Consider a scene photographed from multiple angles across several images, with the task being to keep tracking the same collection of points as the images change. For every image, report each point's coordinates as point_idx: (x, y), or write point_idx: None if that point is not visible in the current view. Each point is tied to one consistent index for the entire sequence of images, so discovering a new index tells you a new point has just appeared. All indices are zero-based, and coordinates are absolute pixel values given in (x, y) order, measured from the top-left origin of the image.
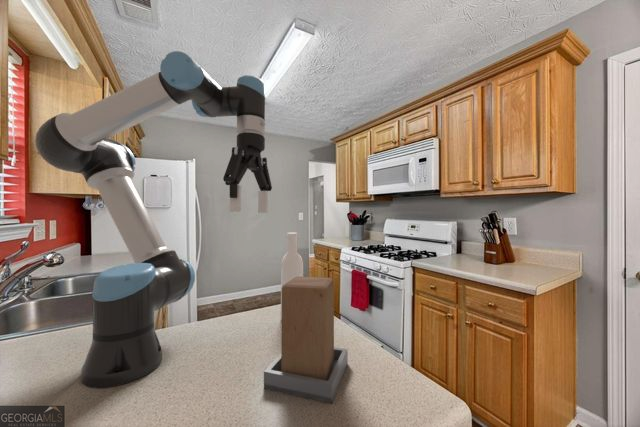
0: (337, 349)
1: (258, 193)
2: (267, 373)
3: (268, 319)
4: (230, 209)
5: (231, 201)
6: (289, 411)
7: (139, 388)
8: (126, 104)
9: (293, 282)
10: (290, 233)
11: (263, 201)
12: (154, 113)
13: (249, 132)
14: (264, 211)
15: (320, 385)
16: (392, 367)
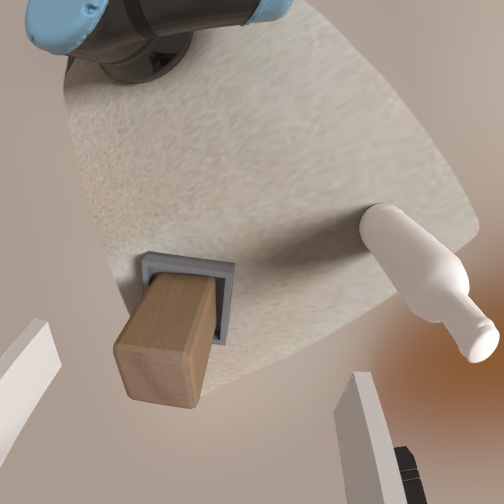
0: (221, 334)
1: (384, 502)
2: (142, 264)
3: (376, 176)
4: (30, 326)
5: (8, 359)
6: (128, 286)
7: (111, 100)
8: None
9: (132, 363)
10: (471, 348)
11: (351, 463)
12: None
13: None
14: (337, 410)
15: None
16: (232, 372)
